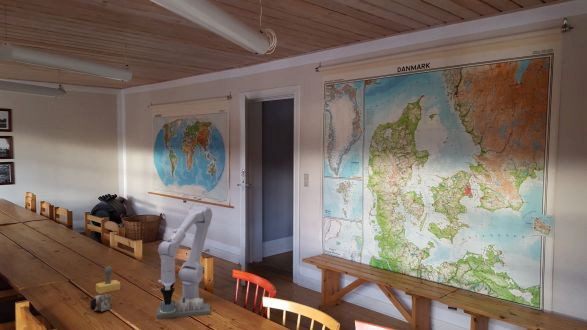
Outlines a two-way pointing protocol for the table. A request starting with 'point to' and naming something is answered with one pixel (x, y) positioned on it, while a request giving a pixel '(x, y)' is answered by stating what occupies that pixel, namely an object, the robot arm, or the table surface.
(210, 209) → the robot arm
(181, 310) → the gear board
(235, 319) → the table surface
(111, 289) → the rubber stamp
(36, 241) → the table surface
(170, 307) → the slate gear
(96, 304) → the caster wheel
